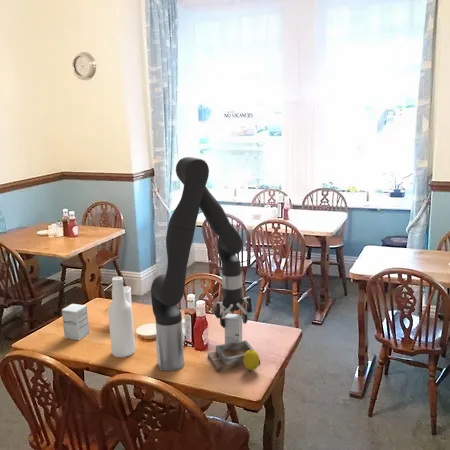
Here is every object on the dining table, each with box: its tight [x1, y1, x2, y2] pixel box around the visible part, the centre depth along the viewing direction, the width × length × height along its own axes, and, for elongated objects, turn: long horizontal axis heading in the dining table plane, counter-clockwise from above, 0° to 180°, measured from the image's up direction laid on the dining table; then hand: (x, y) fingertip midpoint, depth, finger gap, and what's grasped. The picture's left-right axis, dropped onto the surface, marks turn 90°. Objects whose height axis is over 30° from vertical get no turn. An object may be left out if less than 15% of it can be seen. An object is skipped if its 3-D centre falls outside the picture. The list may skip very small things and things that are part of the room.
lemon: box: [243, 349, 260, 372], centre depth 180 cm, size 6×6×8 cm
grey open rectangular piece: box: [207, 340, 261, 373], centre depth 188 cm, size 16×12×4 cm
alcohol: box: [107, 276, 136, 358], centre depth 194 cm, size 9×9×30 cm
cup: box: [111, 285, 133, 309], centre depth 223 cm, size 7×7×15 cm
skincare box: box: [224, 312, 243, 344], centre depth 199 cm, size 6×4×12 cm
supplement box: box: [61, 303, 90, 341], centre depth 211 cm, size 7×7×13 cm
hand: (234, 324), depth 198 cm, fingers open, 8 cm apart
